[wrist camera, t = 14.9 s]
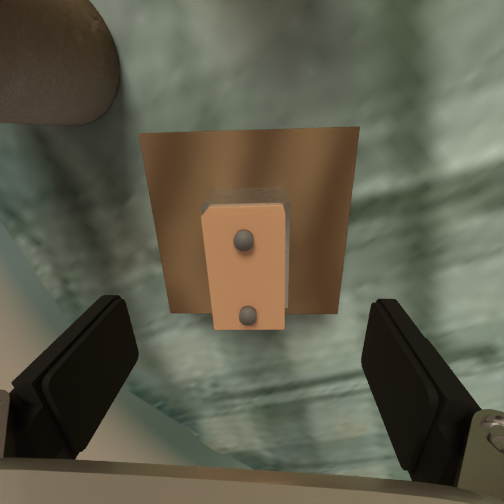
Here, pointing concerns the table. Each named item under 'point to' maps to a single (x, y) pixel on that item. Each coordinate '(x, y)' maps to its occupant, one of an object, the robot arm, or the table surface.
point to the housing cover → (246, 266)
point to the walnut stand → (254, 176)
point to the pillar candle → (55, 62)
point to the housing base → (255, 199)
